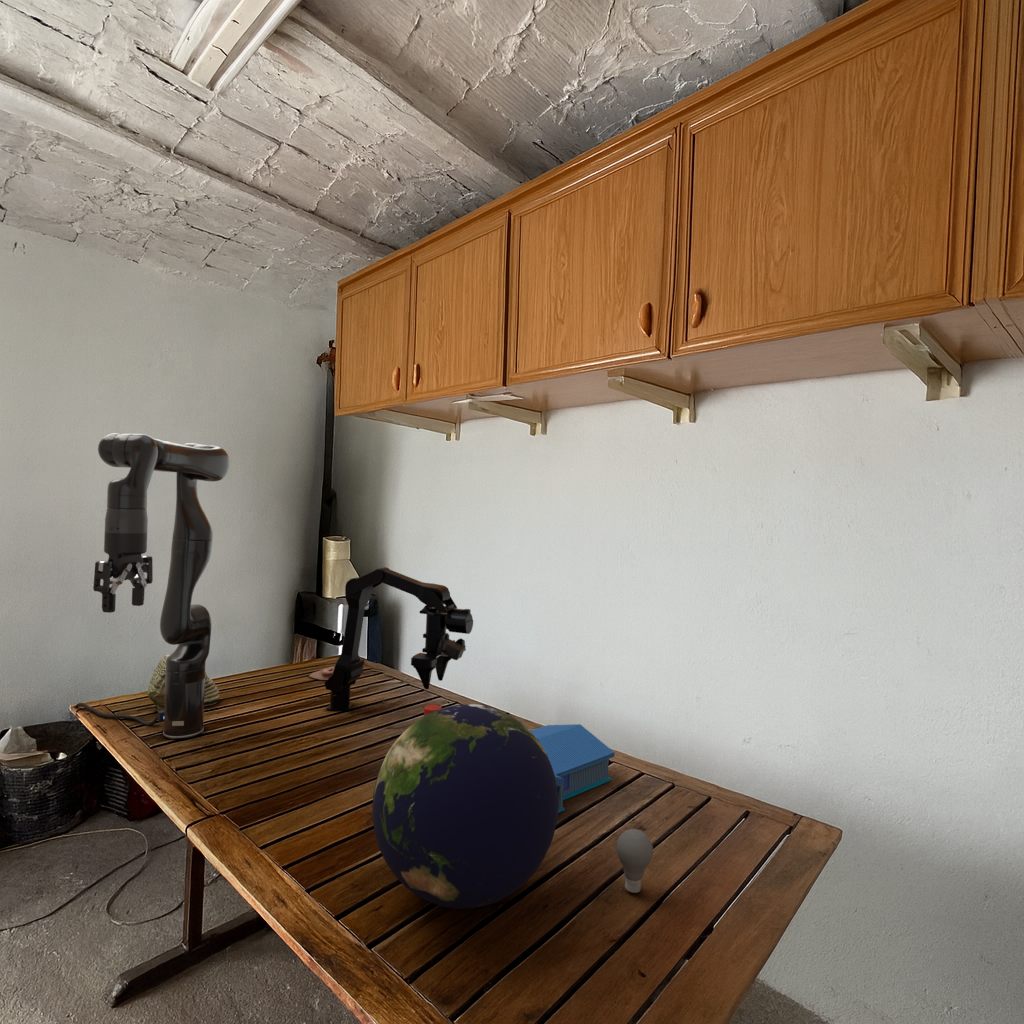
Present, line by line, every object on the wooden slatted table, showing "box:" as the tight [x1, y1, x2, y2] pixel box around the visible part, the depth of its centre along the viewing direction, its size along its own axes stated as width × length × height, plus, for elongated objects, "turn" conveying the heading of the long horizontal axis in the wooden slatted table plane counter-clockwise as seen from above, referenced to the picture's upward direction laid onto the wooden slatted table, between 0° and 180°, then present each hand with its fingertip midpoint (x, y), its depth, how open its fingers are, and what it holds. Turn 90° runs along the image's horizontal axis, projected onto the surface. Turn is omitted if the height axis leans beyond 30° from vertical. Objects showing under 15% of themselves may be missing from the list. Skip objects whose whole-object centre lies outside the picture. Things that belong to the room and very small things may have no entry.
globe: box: [371, 703, 559, 910], centre depth 103 cm, size 30×30×30 cm
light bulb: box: [615, 828, 654, 894], centre depth 106 cm, size 6×6×10 cm
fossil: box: [147, 654, 221, 711], centre depth 185 cm, size 9×18×15 cm, turn 132°
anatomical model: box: [308, 665, 335, 681], centre depth 222 cm, size 13×4×12 cm
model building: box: [529, 723, 615, 814], centre depth 141 cm, size 39×24×10 cm, turn 132°
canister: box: [423, 704, 442, 717], centre depth 181 cm, size 5×5×4 cm
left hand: (123, 608), depth 131 cm, fingers open, 8 cm apart
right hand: (433, 684), depth 181 cm, fingers open, 9 cm apart
